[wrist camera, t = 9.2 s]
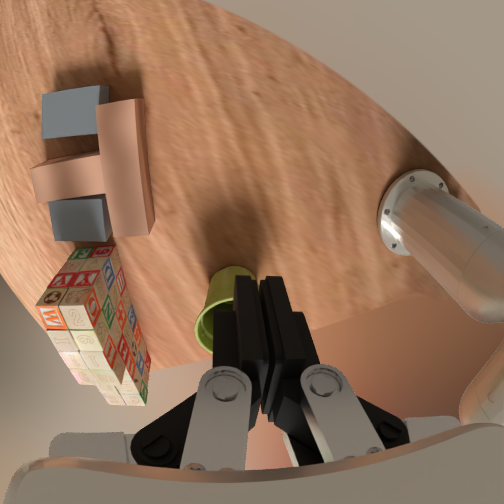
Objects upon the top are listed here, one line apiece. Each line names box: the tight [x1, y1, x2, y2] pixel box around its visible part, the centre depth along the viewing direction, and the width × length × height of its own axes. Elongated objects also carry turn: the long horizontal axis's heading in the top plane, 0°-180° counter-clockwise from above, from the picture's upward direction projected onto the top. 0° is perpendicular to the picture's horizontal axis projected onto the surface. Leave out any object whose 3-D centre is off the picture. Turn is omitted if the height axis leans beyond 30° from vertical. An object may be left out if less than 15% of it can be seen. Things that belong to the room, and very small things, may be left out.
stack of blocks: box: [35, 245, 151, 406], centre depth 34 cm, size 21×6×12 cm, turn 1°
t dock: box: [42, 85, 113, 242], centre depth 27 cm, size 7×17×3 cm, turn 174°
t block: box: [30, 98, 155, 238], centre depth 28 cm, size 13×14×4 cm
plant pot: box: [195, 266, 259, 354], centre depth 35 cm, size 9×9×9 cm
